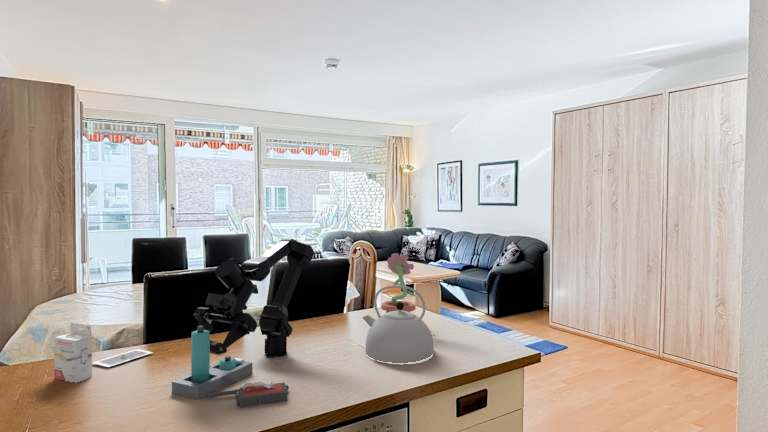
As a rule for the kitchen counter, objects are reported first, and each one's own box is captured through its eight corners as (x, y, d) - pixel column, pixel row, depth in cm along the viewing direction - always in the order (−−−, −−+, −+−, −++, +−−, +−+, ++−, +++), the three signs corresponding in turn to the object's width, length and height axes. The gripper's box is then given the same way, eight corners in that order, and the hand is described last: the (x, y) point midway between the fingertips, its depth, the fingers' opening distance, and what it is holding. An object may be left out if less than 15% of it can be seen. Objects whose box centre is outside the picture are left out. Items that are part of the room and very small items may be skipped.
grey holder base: (228, 368, 134) (228, 349, 134) (252, 372, 130) (252, 354, 130) (171, 393, 116) (171, 371, 116) (198, 399, 112) (198, 377, 112)
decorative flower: (422, 325, 185) (423, 252, 184) (410, 334, 172) (411, 255, 172) (389, 321, 191) (389, 250, 190) (375, 329, 178) (376, 253, 178)
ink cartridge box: (53, 379, 124) (52, 326, 124) (70, 373, 129) (70, 321, 128) (75, 383, 121) (75, 329, 121) (93, 377, 126) (93, 324, 126)
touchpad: (91, 366, 135) (91, 359, 135) (137, 352, 149) (137, 345, 149) (108, 370, 132) (108, 363, 132) (153, 355, 146) (153, 349, 146)
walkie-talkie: (287, 388, 121) (206, 399, 113) (287, 372, 120) (206, 381, 113) (292, 402, 112) (206, 414, 105) (292, 384, 112) (206, 395, 105)
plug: (207, 384, 122) (207, 323, 121) (211, 390, 118) (211, 327, 118) (189, 387, 119) (190, 325, 119) (193, 393, 116) (193, 329, 115)
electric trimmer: (202, 343, 159) (202, 334, 159) (227, 352, 150) (227, 342, 150) (192, 346, 156) (191, 337, 156) (217, 355, 147) (217, 345, 147)
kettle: (346, 358, 145) (347, 287, 144) (375, 339, 166) (376, 277, 165) (421, 369, 135) (422, 294, 135) (441, 348, 156) (442, 283, 155)
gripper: (198, 279, 129) (165, 327, 120) (250, 284, 122) (220, 335, 112) (218, 300, 137) (189, 347, 127) (268, 307, 129) (242, 357, 119)
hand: (209, 346), depth 121 cm, fingers open, 9 cm apart
